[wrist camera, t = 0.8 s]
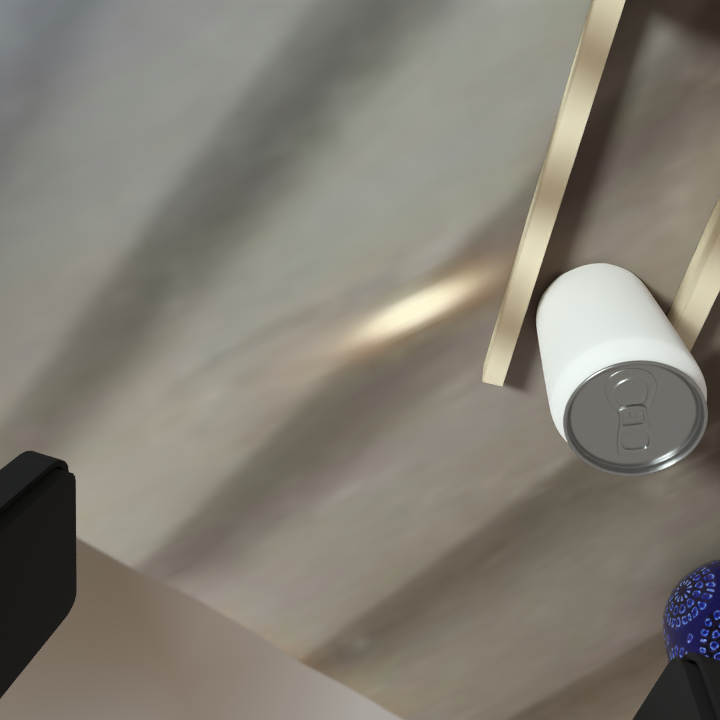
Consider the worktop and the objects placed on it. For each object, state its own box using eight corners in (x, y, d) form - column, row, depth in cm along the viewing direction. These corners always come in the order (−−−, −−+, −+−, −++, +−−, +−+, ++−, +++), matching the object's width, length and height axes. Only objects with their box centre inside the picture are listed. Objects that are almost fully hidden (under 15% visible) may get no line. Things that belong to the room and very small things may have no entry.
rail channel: (619, -93, 27) (643, -121, 23) (860, -55, 26) (934, -76, 22) (483, 366, 39) (482, 406, 34) (648, 405, 38) (669, 451, 33)
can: (647, 250, 34) (718, 339, 23) (654, 354, 36) (722, 477, 26) (527, 272, 36) (542, 364, 25) (542, 370, 38) (562, 491, 28)
